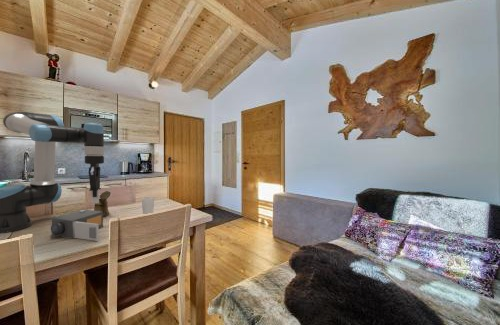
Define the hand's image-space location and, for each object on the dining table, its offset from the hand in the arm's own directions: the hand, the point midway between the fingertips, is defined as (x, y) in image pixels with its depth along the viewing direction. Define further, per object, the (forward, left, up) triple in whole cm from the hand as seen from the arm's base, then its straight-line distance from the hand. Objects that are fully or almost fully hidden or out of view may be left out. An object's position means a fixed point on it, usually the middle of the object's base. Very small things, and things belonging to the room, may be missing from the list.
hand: (95, 203), depth 101 cm
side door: (-4, -2, -18) cm, 18 cm away
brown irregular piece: (-29, +27, -19) cm, 44 cm away
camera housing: (-19, +4, -18) cm, 26 cm away
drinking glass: (+5, +29, -18) cm, 35 cm away
